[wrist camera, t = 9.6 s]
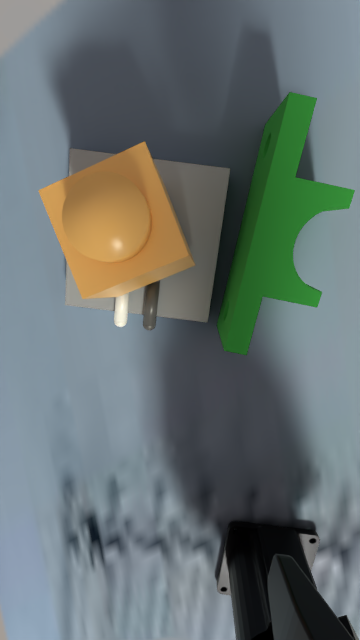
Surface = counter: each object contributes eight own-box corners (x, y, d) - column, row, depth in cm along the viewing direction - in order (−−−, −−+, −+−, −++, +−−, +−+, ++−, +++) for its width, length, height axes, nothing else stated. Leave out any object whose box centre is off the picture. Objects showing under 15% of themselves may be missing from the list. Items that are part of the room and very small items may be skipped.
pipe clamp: (275, 336, 21) (298, 366, 16) (216, 324, 21) (223, 351, 16) (333, 138, 18) (382, 110, 13) (264, 123, 18) (290, 90, 13)
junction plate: (204, 327, 20) (209, 358, 16) (73, 311, 20) (37, 337, 16) (227, 173, 18) (241, 153, 13) (79, 154, 18) (39, 128, 13)
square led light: (195, 265, 17) (186, 252, 11) (117, 296, 18) (71, 299, 12) (163, 183, 17) (138, 127, 11) (86, 218, 17) (23, 181, 12)
